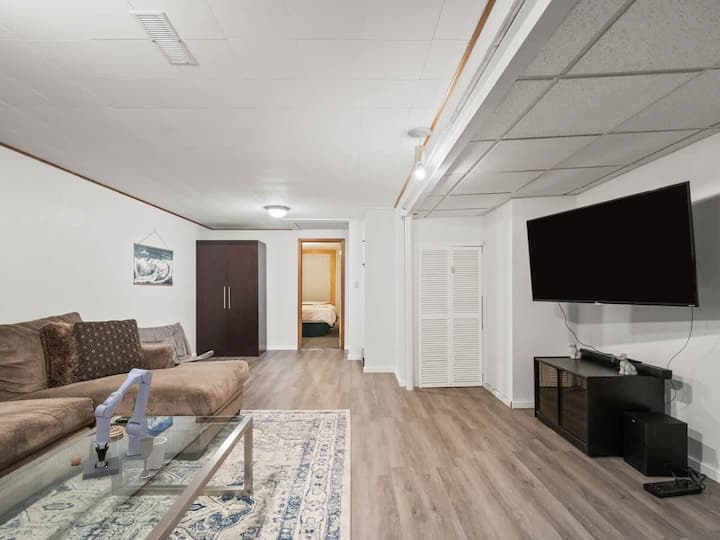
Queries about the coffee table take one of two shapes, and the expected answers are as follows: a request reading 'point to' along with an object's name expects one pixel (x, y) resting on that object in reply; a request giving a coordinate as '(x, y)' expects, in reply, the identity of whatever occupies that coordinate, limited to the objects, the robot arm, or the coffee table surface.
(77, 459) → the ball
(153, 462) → the foam cup
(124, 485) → the coffee table surface
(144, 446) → the chalice
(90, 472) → the grey square frame
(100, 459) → the robot arm
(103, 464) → the steel ball
